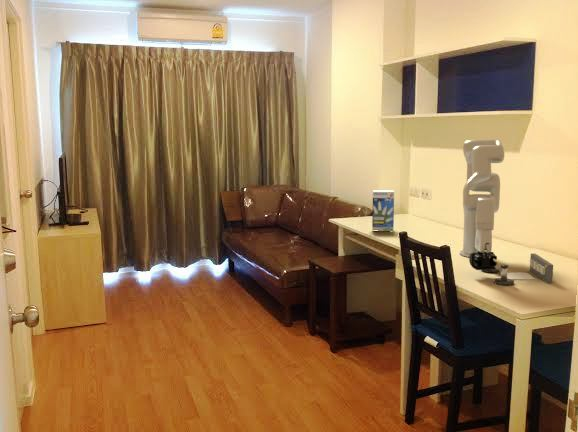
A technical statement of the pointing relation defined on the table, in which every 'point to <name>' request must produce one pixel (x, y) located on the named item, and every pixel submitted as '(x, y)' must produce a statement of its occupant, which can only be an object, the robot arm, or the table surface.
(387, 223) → the string lights box
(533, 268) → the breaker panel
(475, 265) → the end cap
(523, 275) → the view mat
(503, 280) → the post right
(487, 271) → the post left
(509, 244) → the table surface
